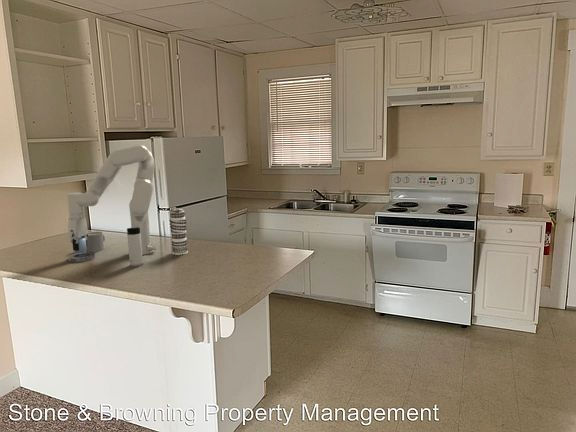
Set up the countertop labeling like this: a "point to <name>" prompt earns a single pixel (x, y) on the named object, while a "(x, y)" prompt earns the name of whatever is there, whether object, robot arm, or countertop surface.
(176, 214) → the decorative candle
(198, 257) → the countertop surface
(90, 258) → the collar ring
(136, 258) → the travel mug
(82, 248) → the pale blue rounded block
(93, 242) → the coffee mug
